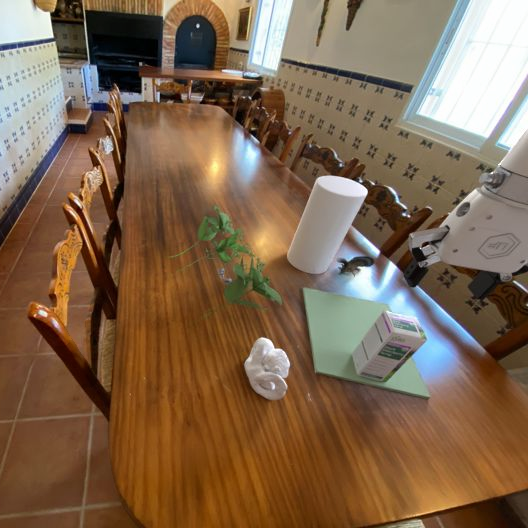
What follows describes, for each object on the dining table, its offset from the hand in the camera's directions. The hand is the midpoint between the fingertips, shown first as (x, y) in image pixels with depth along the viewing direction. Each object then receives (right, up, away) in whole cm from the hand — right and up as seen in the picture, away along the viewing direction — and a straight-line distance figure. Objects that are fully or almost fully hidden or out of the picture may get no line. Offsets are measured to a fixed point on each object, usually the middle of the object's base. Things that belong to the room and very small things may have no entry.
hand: (440, 287), depth 48 cm
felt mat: (0, -13, +23) cm, 26 cm away
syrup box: (-2, -18, +16) cm, 24 cm away
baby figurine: (-25, -19, +14) cm, 34 cm away
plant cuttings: (-33, -4, +31) cm, 45 cm away
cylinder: (-2, +5, +45) cm, 45 cm away
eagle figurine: (+9, +1, +42) cm, 43 cm away
